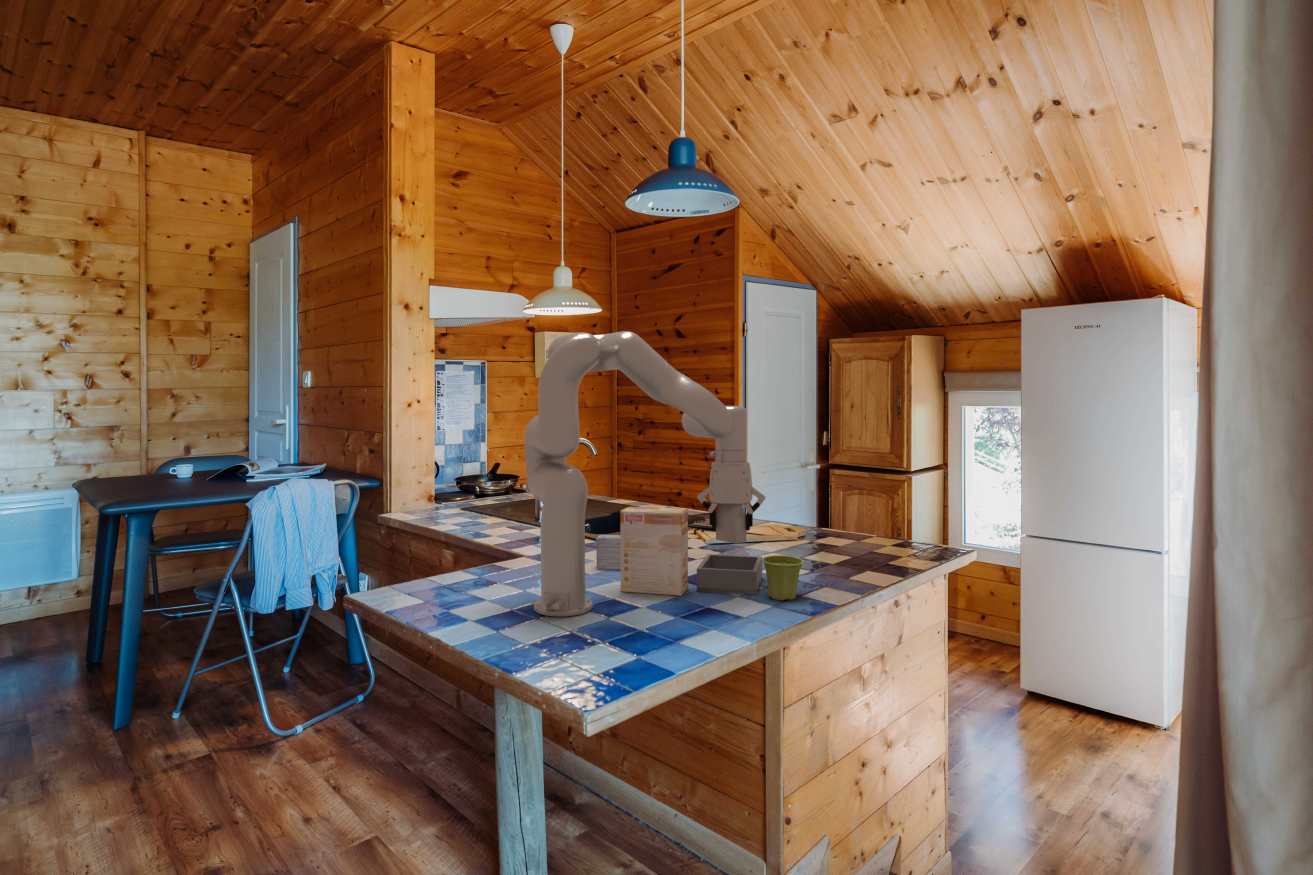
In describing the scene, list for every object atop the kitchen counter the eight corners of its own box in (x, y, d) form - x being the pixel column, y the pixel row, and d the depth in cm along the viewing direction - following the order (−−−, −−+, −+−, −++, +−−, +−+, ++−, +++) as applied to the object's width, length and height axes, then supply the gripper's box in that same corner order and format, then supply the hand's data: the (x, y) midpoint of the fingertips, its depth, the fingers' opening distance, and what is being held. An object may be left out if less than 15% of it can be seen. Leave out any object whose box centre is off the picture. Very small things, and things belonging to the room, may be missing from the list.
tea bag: (735, 543, 178) (735, 502, 177) (715, 539, 183) (715, 498, 182) (746, 541, 180) (746, 500, 180) (726, 537, 185) (726, 497, 185)
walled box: (756, 594, 173) (756, 571, 173) (696, 591, 176) (696, 568, 176) (762, 578, 189) (762, 556, 188) (707, 575, 192) (707, 553, 191)
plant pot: (808, 594, 173) (809, 558, 173) (794, 605, 165) (795, 566, 164) (771, 589, 178) (771, 553, 177) (755, 599, 170) (755, 561, 169)
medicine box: (628, 566, 201) (627, 534, 201) (625, 570, 197) (625, 538, 196) (599, 566, 202) (598, 534, 201) (596, 569, 198) (595, 537, 197)
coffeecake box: (688, 588, 179) (688, 508, 178) (681, 596, 172) (681, 512, 171) (629, 584, 183) (628, 505, 182) (619, 592, 176) (619, 510, 175)
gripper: (692, 457, 179) (693, 530, 180) (766, 458, 175) (765, 533, 176) (698, 455, 186) (698, 524, 187) (768, 456, 182) (768, 527, 183)
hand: (731, 528), depth 182 cm, fingers closed on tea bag, 7 cm apart
